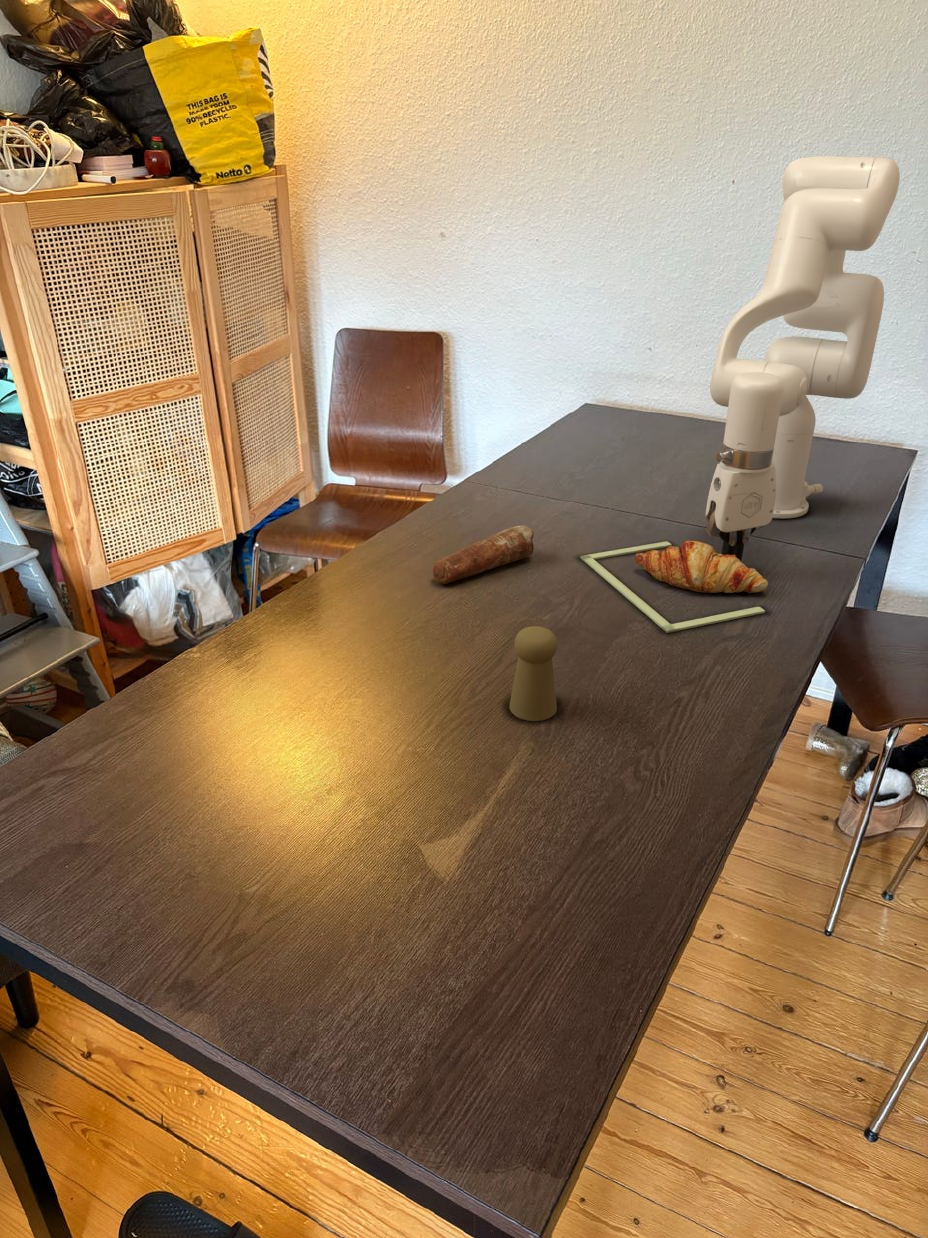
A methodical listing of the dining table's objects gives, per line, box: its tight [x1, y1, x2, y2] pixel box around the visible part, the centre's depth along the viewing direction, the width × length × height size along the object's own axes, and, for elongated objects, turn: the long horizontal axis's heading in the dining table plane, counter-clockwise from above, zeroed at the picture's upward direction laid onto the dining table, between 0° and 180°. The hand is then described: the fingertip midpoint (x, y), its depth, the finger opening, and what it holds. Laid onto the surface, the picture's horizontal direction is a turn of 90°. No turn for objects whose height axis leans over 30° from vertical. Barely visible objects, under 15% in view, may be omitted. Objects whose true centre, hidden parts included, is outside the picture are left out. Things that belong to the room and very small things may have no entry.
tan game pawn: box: [508, 625, 558, 722], centre depth 112 cm, size 6×6×11 cm
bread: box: [432, 524, 535, 585], centre depth 149 cm, size 6×19×6 cm, turn 127°
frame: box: [579, 540, 766, 634], centre depth 145 cm, size 17×28×1 cm, turn 21°
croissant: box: [634, 539, 769, 594], centre depth 144 cm, size 21×10×8 cm
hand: (730, 563), depth 148 cm, fingers closed
